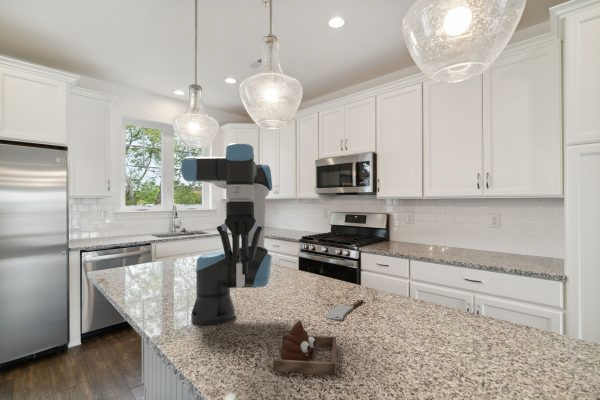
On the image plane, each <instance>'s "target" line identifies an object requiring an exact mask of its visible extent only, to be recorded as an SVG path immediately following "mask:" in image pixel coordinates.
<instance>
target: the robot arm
mask: <svg viewBox="0 0 600 400" xmlns="http://www.w3.org/2000/svg"><path fill="white" fill-rule="evenodd" d="M254 159H255V155H254V147H253V146H252V145H251V144H248V143H238V142H237V143H230V144H228V145H227V146H226V148H225V156H196V155H195V156H185V157H184V158H183V159H182V161H181V167H180V169H181V171H180V172H181V176H182V178H183V181H186V182H202V183H209V184H213V185H214V186H216V188H217V187H218V188H221V189H225V190H226V191H225V199H226V200H228V201H226V205H225V208H226V209H225V212H226V213H225V214H226V216H225V220H224V222H223V223H222V224H221V225H218V226H217V227H216V230H217V232H218V233H219V235H220V239H221V240H220V241H221V245H222V247H223V250H220V251H214V252H209V253H206V254H205V253H204V254H202V255H200V256H199V257H197V259H196V268H195V271H196V272H195V276H196V278H195V279H196V280H195V282H196V284H195V285H196V291H195V292H196V298H195V302H194V304H193V307H192V311H191V316H190V317H191V318H190V319H191V320H190V321H191V322H192V323H193V324H195V325H197V326H198V325H199V326H216V325H221V324H225V323H227V322H229V321H231V320H233V319H234V318H235V315H236V309H235V305H234V303H233V300H232V296H231V289H244V288H246V289H247V288H248V289H249V288H250V289H251V288H253V289H256V288H263V287H266V286H268V284H269V282H270V281H269V280H270V276H271V271H272V270H271V268H272V259H273V258H272V255H271V254H269V250H268V249H267V247H265V229H266V228H265V227H266V226H265V224H266V221H265V220H266V216H265V215H266V198H267V197H268V196H269V193H270V192H271V191H272V190H273V181H272V180H273V179H272V171H271V167H270V166H269V165H268V164H262V163H259V164H257V163H256V162H255V160H254ZM228 230H229V232H230V233H231V239H232V241H230V237H229V234H228ZM240 239H241V241H240ZM231 242H232V243H231ZM240 242H241V246H240ZM231 244H232V245H231Z"/></svg>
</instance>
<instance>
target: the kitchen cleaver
mask: <svg viewBox="0 0 600 400" xmlns="http://www.w3.org/2000/svg"><path fill="white" fill-rule="evenodd" d="M363 303H364V299H357V300H356V301H355V302H353V303H352V304H348V305H343V304H342V305H341V304H338V305H335V307H333V308H331V309H330V310H329V311H327V312H326V313H325V314H324V315H322V318H324V319H328V320H332V321H336V322H341V321H343V320H344V318H345V316H346V315H347V314H349V312H351V311H352V310H354V309H356V308H358V307H359V306H360V305H362V304H363Z"/></svg>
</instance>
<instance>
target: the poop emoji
mask: <svg viewBox="0 0 600 400" xmlns="http://www.w3.org/2000/svg"><path fill="white" fill-rule="evenodd" d="M286 335H287V336H286V341H284V343H283V342H282V347H281V350H280V357H281V360H298V361H309V359H310V358H311V357H313V356H314V354H315V347H316V346H315V343H316V342H315V339H314V338H313V337H308V336H309V334H308V331H306V330H305V328H304V326H303V323H302V321H301V320H300V319H299V320H298V321H296V322H295V323H294V325H293V326H292V327H291V329H290V330H289V331H288V333H287V334H286Z"/></svg>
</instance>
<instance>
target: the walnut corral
mask: <svg viewBox="0 0 600 400" xmlns="http://www.w3.org/2000/svg"><path fill="white" fill-rule="evenodd" d="M287 335H288V334H285V333H284V334H282V344H283V343H284V341H286V336H287ZM308 337H313V338H314V339H315V342H316V343H315V346H314V347H331V348H332V352H331V353H332V354H331V356H332V357H331V358H332V362H331V361H329V362H328V361H312V360H307V361H298V360H282V359H277V358H273V359H272V372H282V373H284V372H286V373H296V374H297V373H298V374H299V373H300V374H314V375H328V376H330V375H331V376H332V375H333V376H337V369H338V368H337V366H338V365H337V364H338V363H337V336H326V335H325V336H324V335H308Z"/></svg>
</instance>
